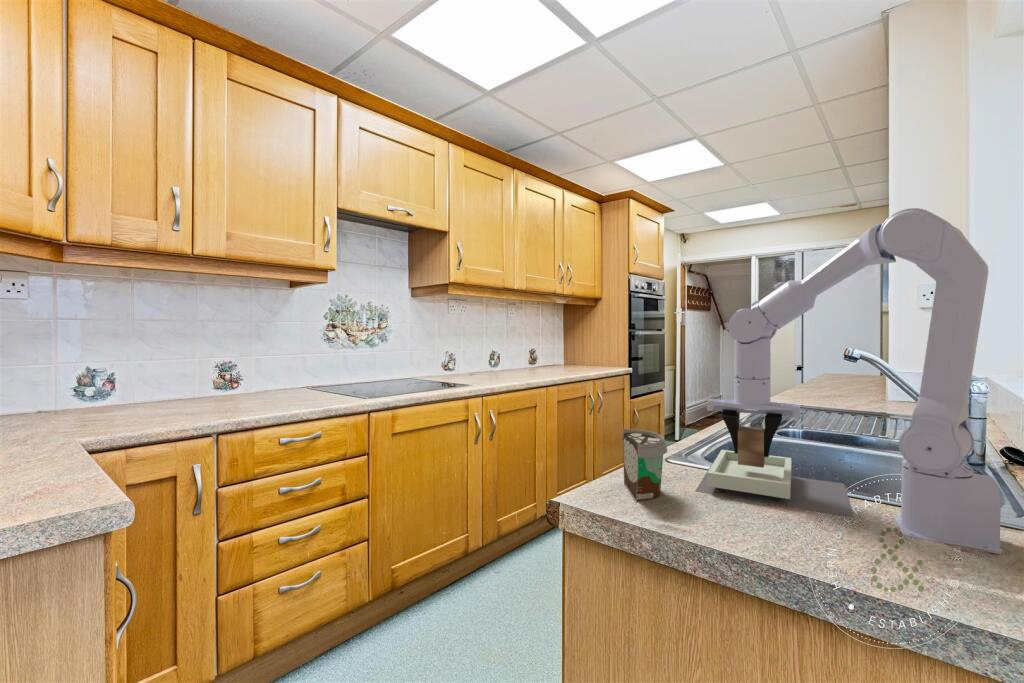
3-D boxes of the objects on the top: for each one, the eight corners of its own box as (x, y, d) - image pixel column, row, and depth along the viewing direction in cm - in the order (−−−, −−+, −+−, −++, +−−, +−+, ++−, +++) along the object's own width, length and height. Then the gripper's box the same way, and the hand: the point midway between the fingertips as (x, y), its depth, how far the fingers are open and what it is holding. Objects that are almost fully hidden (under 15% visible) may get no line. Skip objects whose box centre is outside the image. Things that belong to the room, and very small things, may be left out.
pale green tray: (791, 476, 86) (791, 457, 86) (790, 506, 72) (790, 484, 72) (721, 466, 93) (721, 449, 93) (707, 492, 78) (707, 472, 78)
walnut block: (764, 461, 83) (765, 428, 82) (763, 467, 79) (763, 432, 79) (740, 458, 85) (740, 426, 84) (737, 464, 81) (737, 430, 81)
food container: (678, 507, 73) (677, 445, 73) (639, 507, 74) (638, 445, 73) (655, 481, 86) (655, 428, 86) (622, 481, 86) (622, 428, 86)
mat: (843, 486, 82) (844, 483, 82) (853, 520, 68) (853, 517, 68) (710, 467, 94) (710, 465, 94) (695, 493, 79) (695, 491, 79)
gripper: (800, 377, 81) (799, 454, 82) (711, 374, 89) (711, 444, 89) (800, 381, 75) (799, 464, 76) (705, 377, 83) (705, 452, 83)
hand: (751, 454), depth 82 cm, fingers closed on walnut block, 4 cm apart
